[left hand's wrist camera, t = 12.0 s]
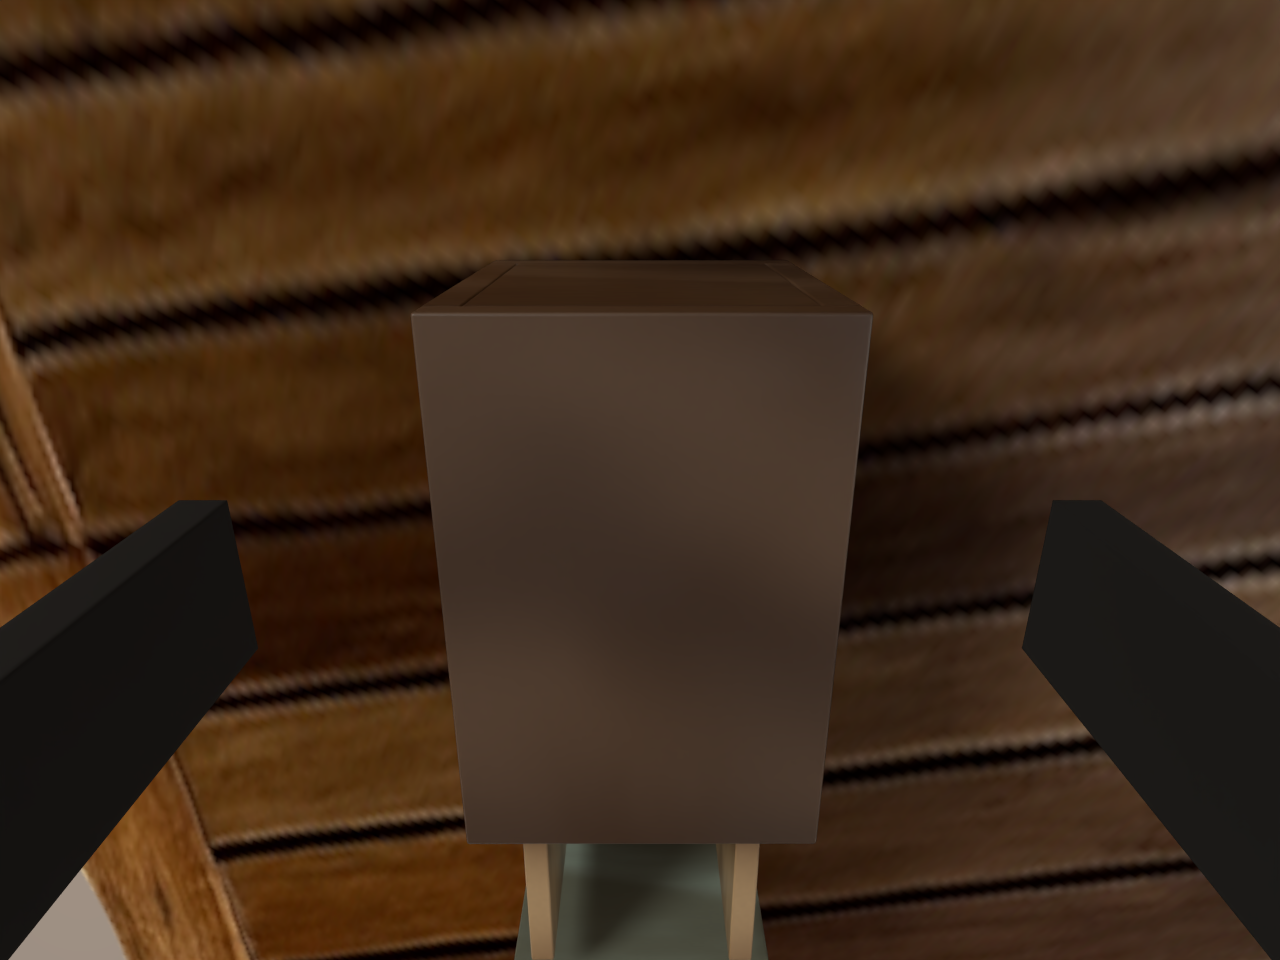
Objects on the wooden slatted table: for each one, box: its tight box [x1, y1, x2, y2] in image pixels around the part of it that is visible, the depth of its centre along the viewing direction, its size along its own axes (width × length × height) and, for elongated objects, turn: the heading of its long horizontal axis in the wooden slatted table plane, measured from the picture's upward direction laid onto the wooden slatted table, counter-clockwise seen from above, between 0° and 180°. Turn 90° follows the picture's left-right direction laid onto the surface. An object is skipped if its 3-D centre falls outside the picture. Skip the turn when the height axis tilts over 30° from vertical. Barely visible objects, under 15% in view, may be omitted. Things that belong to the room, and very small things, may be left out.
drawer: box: [514, 844, 768, 960], centre depth 31 cm, size 21×9×9 cm, turn 0°
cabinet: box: [411, 260, 873, 844], centre depth 26 cm, size 16×11×11 cm, turn 0°
